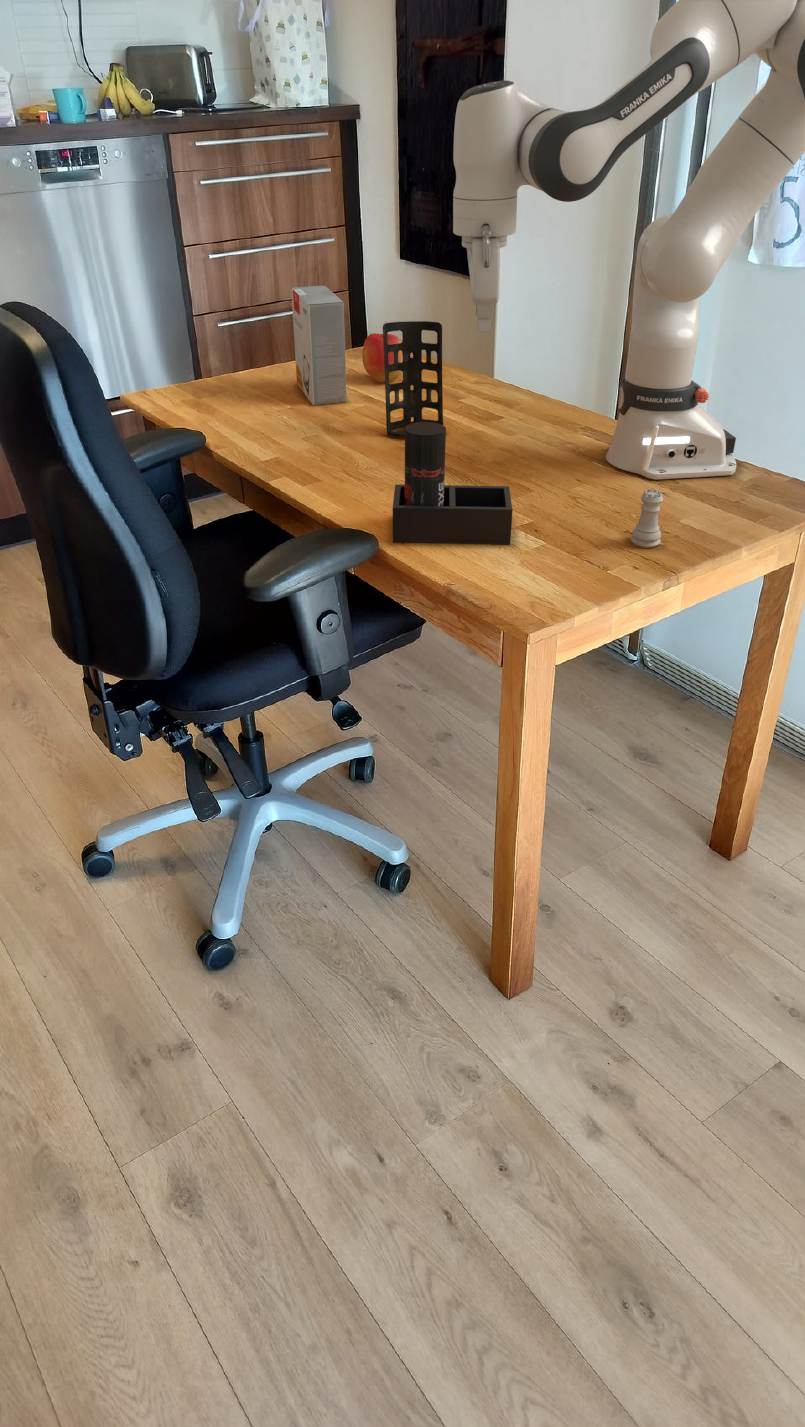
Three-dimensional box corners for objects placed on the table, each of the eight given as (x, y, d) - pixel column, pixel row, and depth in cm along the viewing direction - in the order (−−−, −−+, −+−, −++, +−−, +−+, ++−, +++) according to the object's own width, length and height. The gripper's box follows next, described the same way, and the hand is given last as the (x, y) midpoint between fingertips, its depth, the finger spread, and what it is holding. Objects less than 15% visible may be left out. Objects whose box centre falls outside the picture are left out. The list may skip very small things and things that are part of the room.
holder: (390, 440, 185) (388, 326, 175) (380, 432, 191) (378, 321, 182) (447, 436, 187) (448, 323, 178) (435, 428, 194) (435, 318, 184)
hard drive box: (295, 385, 215) (290, 286, 204) (330, 382, 217) (326, 284, 206) (312, 406, 203) (307, 302, 192) (348, 402, 205) (345, 300, 194)
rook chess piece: (656, 536, 150) (664, 485, 146) (663, 548, 147) (672, 497, 142) (627, 536, 150) (634, 486, 146) (633, 549, 147) (641, 497, 142)
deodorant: (439, 535, 149) (442, 436, 140) (400, 531, 150) (401, 433, 141) (446, 519, 153) (449, 423, 145) (408, 516, 154) (409, 420, 146)
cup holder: (395, 518, 156) (395, 484, 153) (506, 520, 155) (509, 486, 152) (392, 543, 148) (392, 507, 145) (510, 545, 148) (512, 509, 145)
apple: (375, 389, 213) (374, 341, 207) (355, 378, 220) (354, 331, 214) (414, 383, 217) (415, 335, 211) (393, 372, 224) (393, 326, 218)
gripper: (511, 231, 130) (507, 340, 138) (503, 208, 147) (501, 307, 155) (463, 232, 130) (462, 341, 138) (461, 209, 147) (460, 308, 155)
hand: (482, 323), depth 146 cm, fingers open, 8 cm apart
